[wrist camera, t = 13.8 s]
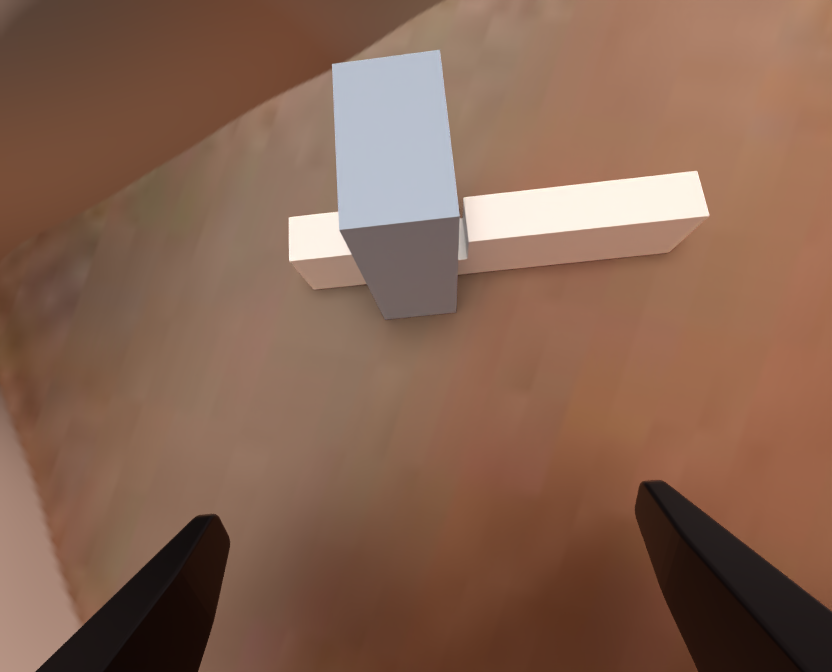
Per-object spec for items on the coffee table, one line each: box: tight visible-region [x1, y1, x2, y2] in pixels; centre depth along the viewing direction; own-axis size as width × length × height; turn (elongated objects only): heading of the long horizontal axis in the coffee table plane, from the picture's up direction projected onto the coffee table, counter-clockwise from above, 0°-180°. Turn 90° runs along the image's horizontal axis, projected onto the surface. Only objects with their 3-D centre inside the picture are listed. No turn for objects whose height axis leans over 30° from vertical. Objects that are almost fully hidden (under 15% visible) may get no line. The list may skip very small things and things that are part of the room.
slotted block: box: [332, 50, 460, 320], centre depth 21 cm, size 7×4×10 cm, turn 5°
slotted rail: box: [289, 171, 709, 290], centre depth 23 cm, size 2×20×4 cm, turn 94°
